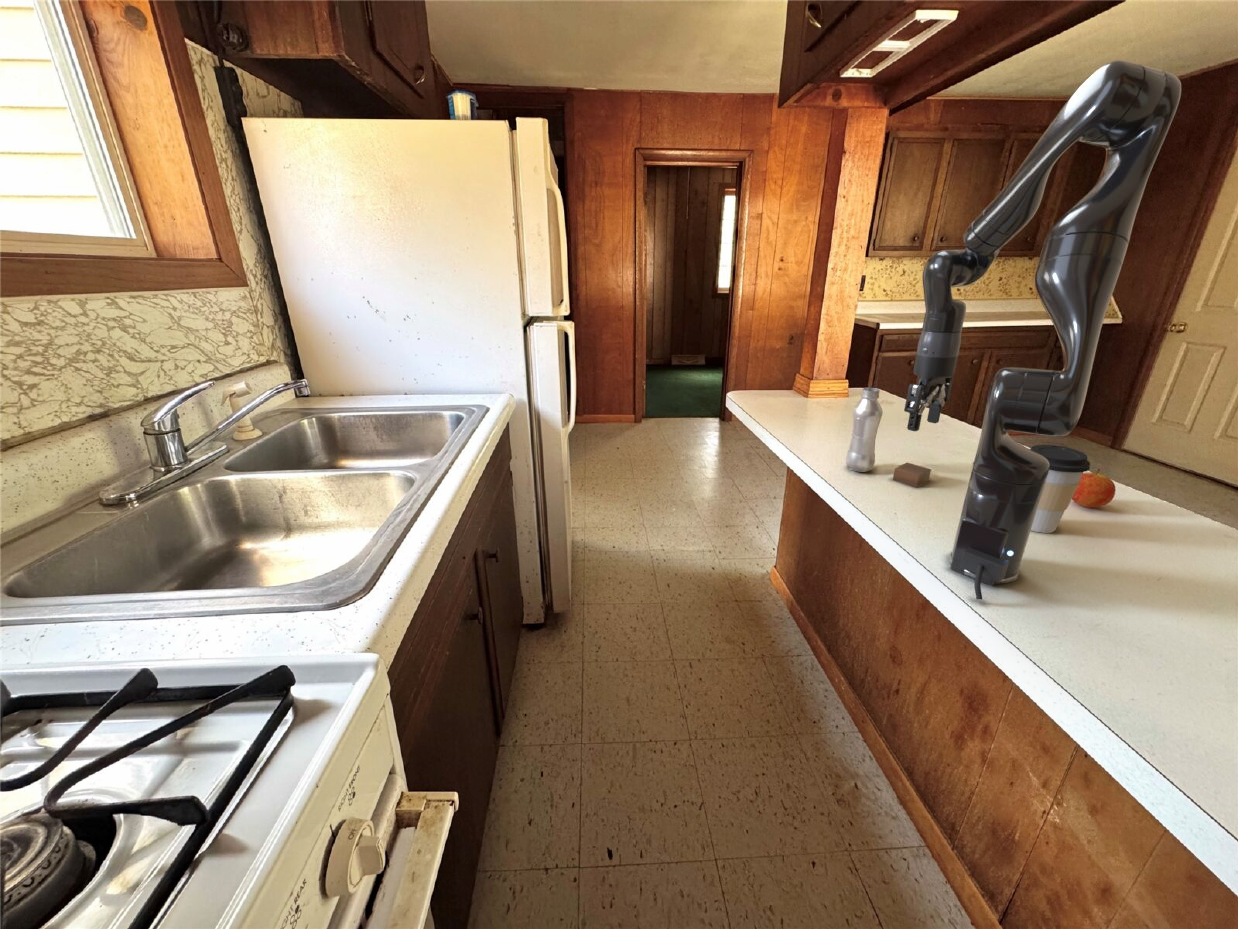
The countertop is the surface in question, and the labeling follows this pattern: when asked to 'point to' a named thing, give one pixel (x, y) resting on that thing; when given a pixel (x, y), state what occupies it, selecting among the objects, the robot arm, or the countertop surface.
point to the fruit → (1094, 490)
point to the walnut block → (911, 474)
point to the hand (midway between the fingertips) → (922, 426)
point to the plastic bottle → (864, 431)
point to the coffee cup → (1058, 484)
